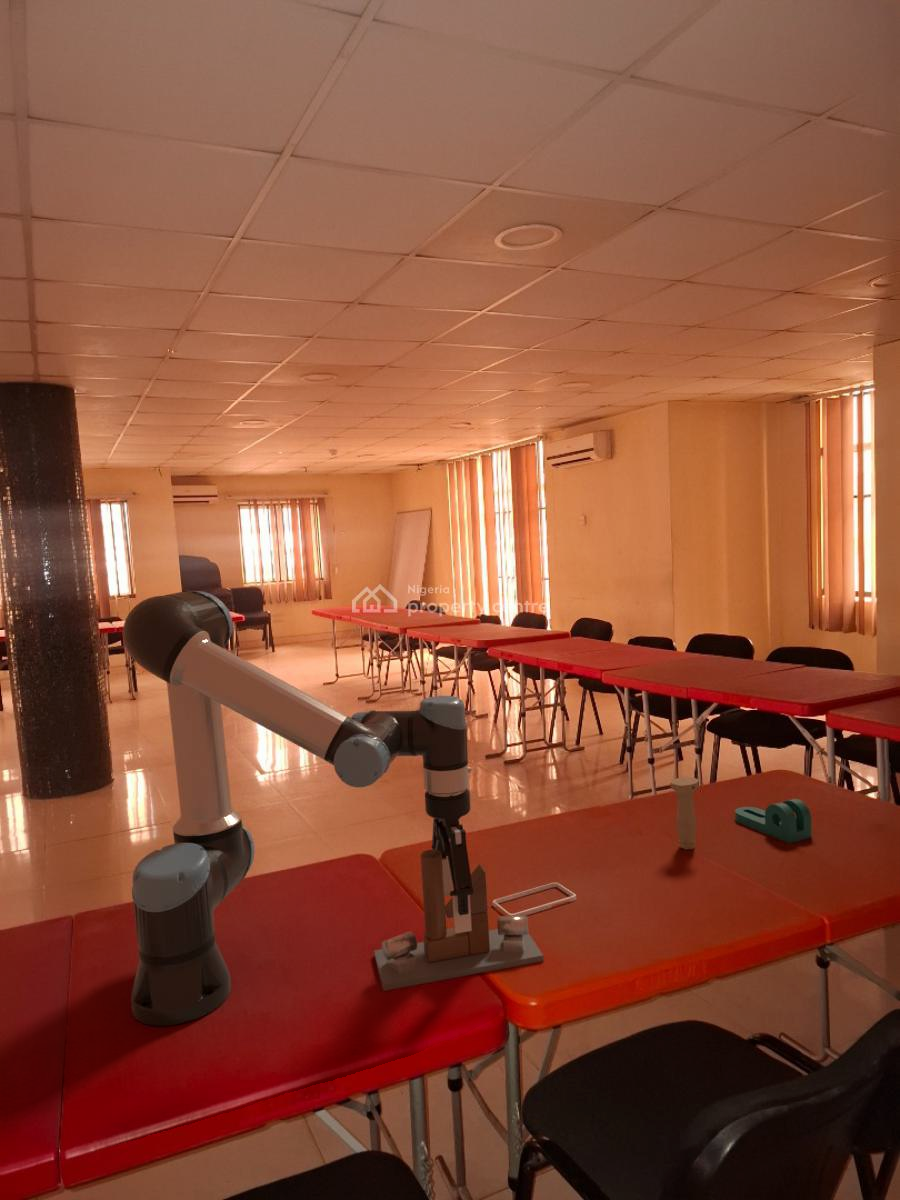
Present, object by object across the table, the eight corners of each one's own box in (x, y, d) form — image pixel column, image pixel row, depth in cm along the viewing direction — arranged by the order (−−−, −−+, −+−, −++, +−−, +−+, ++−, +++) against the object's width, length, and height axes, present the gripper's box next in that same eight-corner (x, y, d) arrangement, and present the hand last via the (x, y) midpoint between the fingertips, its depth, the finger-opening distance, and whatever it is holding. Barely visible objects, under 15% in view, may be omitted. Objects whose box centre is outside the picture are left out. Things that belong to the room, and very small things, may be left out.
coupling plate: (383, 990, 125) (382, 984, 125) (374, 955, 136) (374, 950, 136) (543, 961, 131) (543, 955, 131) (523, 929, 141) (522, 924, 141)
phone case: (556, 887, 159) (491, 907, 152) (556, 881, 158) (491, 900, 152) (577, 902, 152) (511, 922, 145) (577, 895, 152) (510, 915, 145)
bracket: (811, 837, 175) (810, 803, 174) (789, 844, 172) (788, 809, 172) (750, 814, 191) (749, 782, 191) (729, 819, 189) (728, 787, 188)
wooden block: (490, 952, 132) (484, 849, 131) (428, 963, 130) (421, 859, 129) (484, 942, 136) (478, 841, 135) (424, 952, 134) (417, 850, 132)
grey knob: (498, 952, 133) (497, 923, 132) (500, 938, 137) (498, 911, 136) (528, 952, 132) (526, 923, 131) (528, 938, 136) (527, 911, 136)
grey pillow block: (394, 976, 127) (391, 947, 127) (381, 965, 131) (379, 936, 130) (420, 966, 130) (418, 937, 129) (407, 955, 133) (405, 926, 133)
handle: (705, 847, 173) (703, 780, 172) (685, 854, 170) (682, 787, 168) (689, 840, 177) (686, 775, 176) (668, 847, 174) (666, 781, 173)
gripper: (488, 811, 120) (495, 944, 121) (452, 766, 144) (457, 878, 145) (440, 817, 118) (447, 952, 120) (411, 771, 142) (418, 884, 144)
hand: (453, 912), depth 133 cm, fingers open, 13 cm apart
